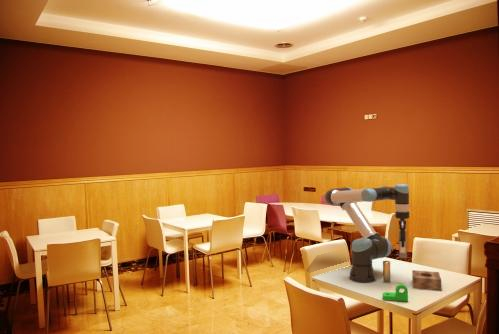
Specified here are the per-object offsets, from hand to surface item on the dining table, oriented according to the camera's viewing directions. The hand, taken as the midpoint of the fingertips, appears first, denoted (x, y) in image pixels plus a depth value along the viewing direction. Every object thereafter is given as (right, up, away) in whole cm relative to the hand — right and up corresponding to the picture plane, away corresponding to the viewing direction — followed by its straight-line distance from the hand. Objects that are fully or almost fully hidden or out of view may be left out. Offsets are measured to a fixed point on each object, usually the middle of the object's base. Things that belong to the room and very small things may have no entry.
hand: (402, 251), depth 220 cm
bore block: (+12, -18, -4) cm, 22 cm away
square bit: (0, -3, 0) cm, 3 cm away
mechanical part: (-13, -20, -21) cm, 32 cm away
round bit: (-8, -19, +4) cm, 21 cm away
